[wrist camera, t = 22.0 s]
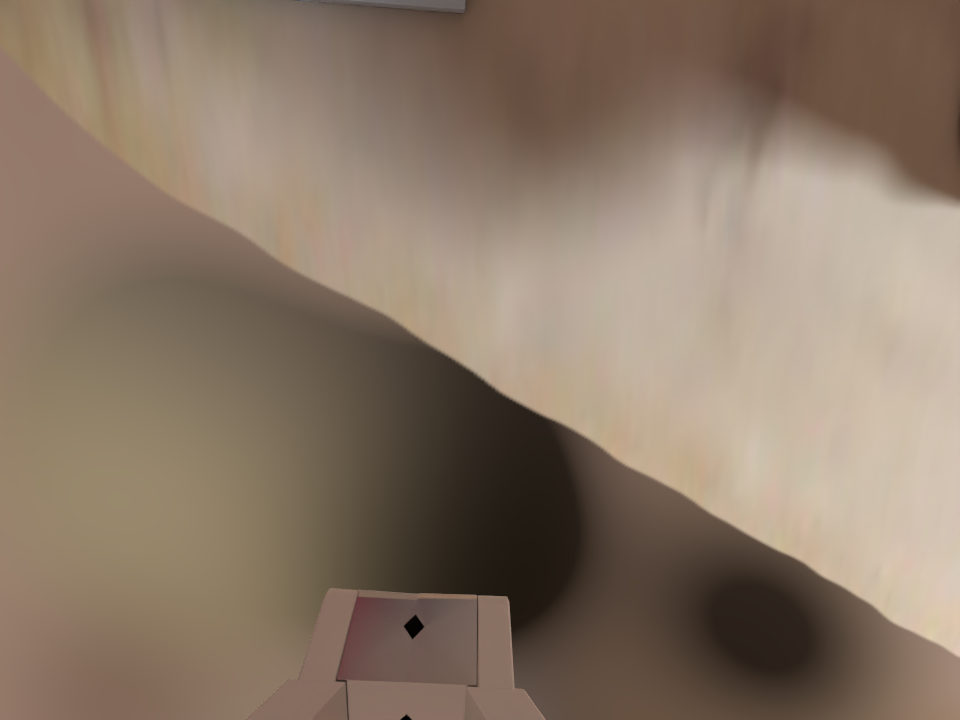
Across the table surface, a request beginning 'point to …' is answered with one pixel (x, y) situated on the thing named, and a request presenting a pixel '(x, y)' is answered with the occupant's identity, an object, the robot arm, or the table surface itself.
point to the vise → (407, 4)
